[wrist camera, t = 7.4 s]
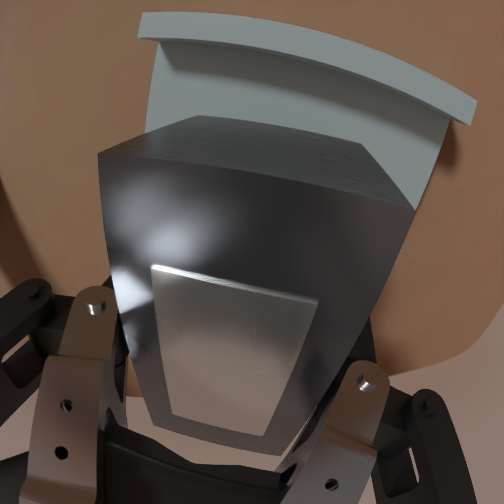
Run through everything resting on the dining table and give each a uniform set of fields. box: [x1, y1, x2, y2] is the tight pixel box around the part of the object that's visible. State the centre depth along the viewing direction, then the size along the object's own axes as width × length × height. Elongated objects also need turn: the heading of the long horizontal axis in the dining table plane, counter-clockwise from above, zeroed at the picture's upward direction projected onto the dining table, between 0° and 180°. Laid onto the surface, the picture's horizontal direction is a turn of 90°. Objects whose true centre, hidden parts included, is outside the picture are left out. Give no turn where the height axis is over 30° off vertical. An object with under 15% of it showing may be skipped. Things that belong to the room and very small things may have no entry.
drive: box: [98, 115, 415, 456], centre depth 9 cm, size 10×5×5 cm, turn 173°
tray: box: [137, 12, 477, 211], centre depth 14 cm, size 14×18×4 cm
